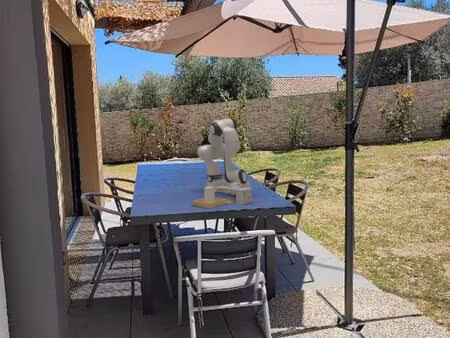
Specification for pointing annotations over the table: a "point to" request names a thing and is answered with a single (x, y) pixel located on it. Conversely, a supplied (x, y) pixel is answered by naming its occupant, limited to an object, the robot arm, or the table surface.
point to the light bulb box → (243, 196)
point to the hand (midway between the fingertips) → (220, 191)
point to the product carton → (209, 194)
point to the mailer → (215, 204)
